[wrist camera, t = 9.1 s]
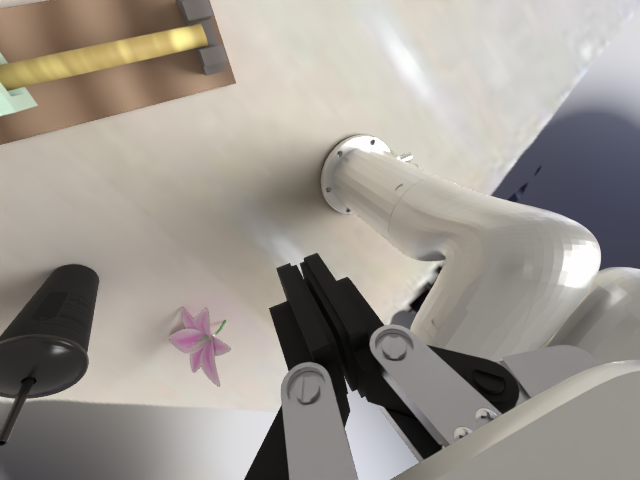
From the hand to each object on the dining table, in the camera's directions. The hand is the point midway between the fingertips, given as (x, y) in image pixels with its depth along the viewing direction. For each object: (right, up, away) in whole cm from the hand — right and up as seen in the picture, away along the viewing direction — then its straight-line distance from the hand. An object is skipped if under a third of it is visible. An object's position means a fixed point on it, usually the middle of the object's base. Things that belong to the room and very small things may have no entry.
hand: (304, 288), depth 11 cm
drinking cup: (-31, -3, +25) cm, 40 cm away
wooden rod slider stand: (-22, +19, +16) cm, 33 cm away
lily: (-19, -11, +36) cm, 43 cm away
